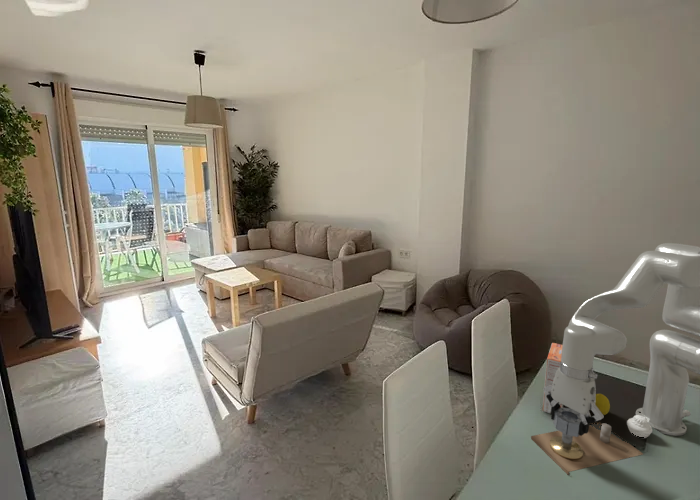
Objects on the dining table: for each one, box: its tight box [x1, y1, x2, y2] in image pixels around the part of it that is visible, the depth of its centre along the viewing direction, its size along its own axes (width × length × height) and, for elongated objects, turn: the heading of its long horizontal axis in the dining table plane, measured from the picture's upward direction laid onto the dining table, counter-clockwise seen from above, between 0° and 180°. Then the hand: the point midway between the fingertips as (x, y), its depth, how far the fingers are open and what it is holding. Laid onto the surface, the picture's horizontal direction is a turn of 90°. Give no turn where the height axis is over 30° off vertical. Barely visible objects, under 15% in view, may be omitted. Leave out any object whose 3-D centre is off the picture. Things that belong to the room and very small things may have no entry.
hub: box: [550, 433, 583, 460], centre depth 103 cm, size 8×8×6 cm
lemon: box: [595, 393, 611, 416], centre depth 119 cm, size 6×6×8 cm
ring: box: [552, 407, 582, 437], centre depth 102 cm, size 7×7×4 cm
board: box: [530, 421, 644, 476], centre depth 105 cm, size 26×14×6 cm, turn 103°
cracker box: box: [542, 342, 564, 415], centre depth 123 cm, size 14×6×21 cm, turn 144°
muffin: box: [626, 414, 653, 439], centre depth 109 cm, size 6×6×7 cm
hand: (568, 425), depth 102 cm, fingers closed on ring, 7 cm apart
